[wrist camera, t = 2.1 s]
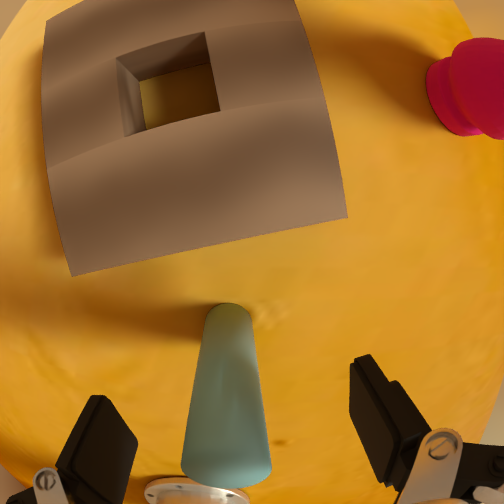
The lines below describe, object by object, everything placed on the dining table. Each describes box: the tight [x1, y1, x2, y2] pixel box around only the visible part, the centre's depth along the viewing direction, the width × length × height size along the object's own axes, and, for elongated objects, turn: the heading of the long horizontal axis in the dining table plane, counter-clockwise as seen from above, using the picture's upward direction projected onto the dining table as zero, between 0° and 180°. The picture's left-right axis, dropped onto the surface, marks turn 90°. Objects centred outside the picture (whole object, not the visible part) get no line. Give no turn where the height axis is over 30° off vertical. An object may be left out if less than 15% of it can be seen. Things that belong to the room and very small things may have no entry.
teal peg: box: [181, 303, 272, 489], centre depth 13 cm, size 3×3×11 cm
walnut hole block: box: [41, 0, 348, 277], centre depth 13 cm, size 16×14×4 cm
